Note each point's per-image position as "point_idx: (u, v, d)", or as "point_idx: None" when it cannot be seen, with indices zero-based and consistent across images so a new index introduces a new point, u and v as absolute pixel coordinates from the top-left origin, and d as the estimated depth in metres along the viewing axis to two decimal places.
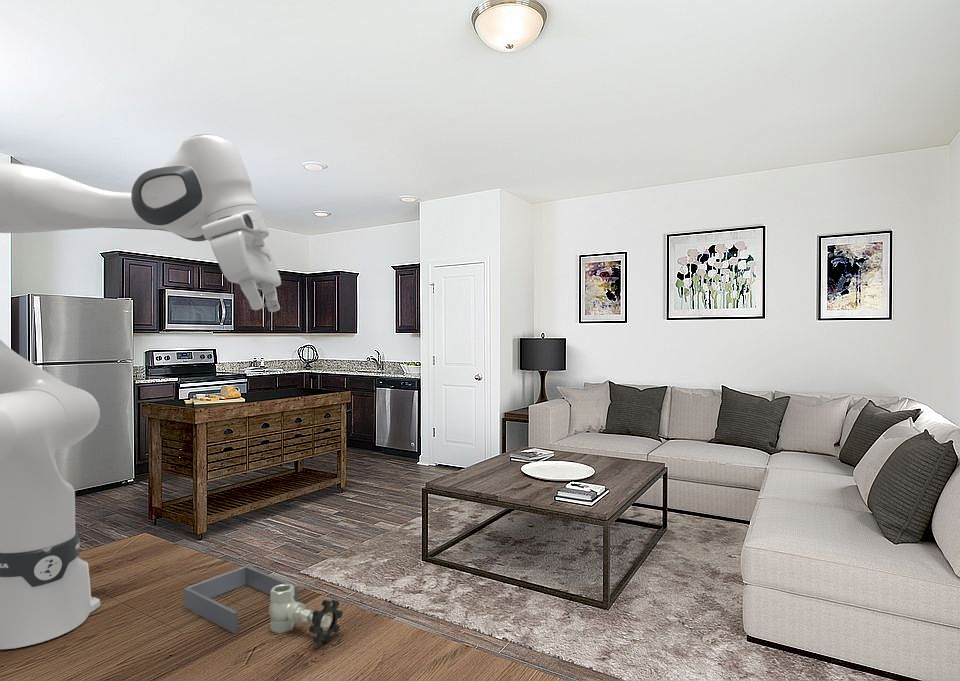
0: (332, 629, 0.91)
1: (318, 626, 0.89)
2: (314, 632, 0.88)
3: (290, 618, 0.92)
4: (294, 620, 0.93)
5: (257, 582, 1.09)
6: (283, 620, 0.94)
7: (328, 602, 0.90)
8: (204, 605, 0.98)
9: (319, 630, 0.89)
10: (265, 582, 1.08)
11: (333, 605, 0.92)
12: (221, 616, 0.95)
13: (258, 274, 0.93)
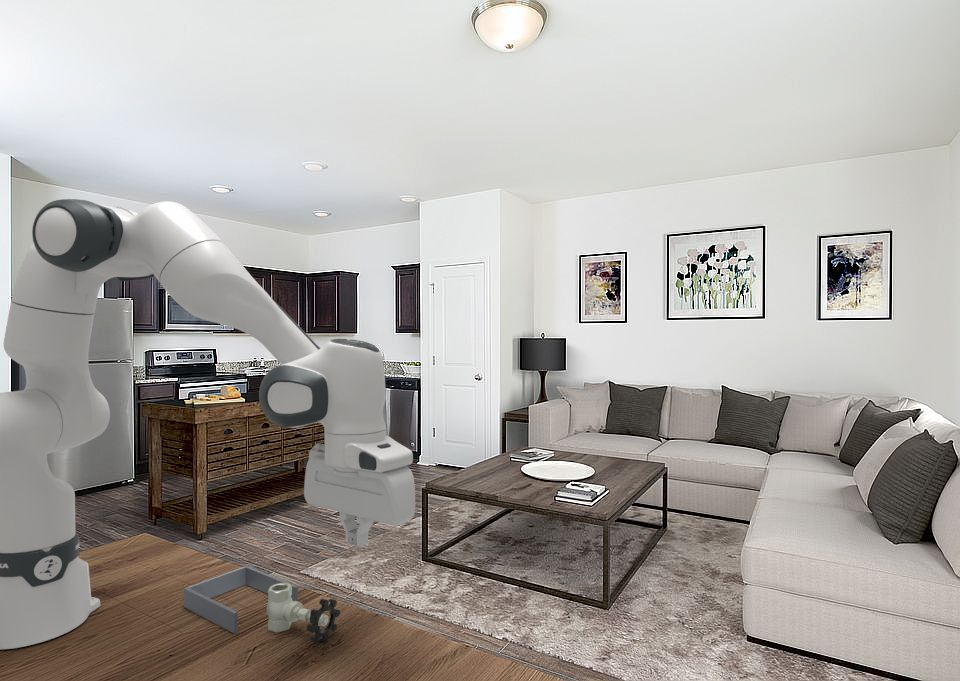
0: (330, 628, 0.92)
1: (316, 625, 0.89)
2: (312, 631, 0.88)
3: (288, 617, 0.93)
4: (291, 619, 0.93)
5: (257, 582, 1.09)
6: (281, 619, 0.94)
7: (326, 601, 0.91)
8: (204, 605, 0.98)
9: (317, 629, 0.89)
10: (265, 582, 1.08)
11: (331, 604, 0.92)
12: (221, 616, 0.95)
13: None
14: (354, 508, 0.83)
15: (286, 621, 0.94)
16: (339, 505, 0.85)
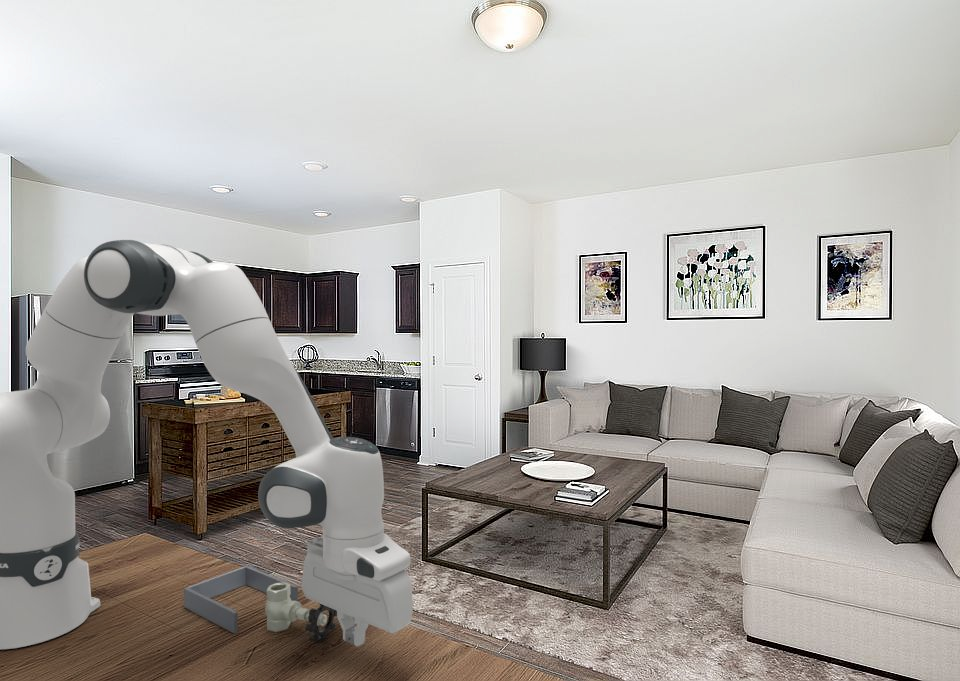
0: (328, 627, 0.92)
1: (314, 624, 0.89)
2: (310, 630, 0.88)
3: (286, 616, 0.93)
4: (290, 618, 0.93)
5: (257, 582, 1.09)
6: (279, 619, 0.94)
7: None
8: (204, 605, 0.98)
9: (315, 628, 0.89)
10: (265, 582, 1.08)
11: None
12: (221, 616, 0.95)
13: None
14: (351, 610, 0.83)
15: (285, 620, 0.95)
16: (336, 604, 0.85)
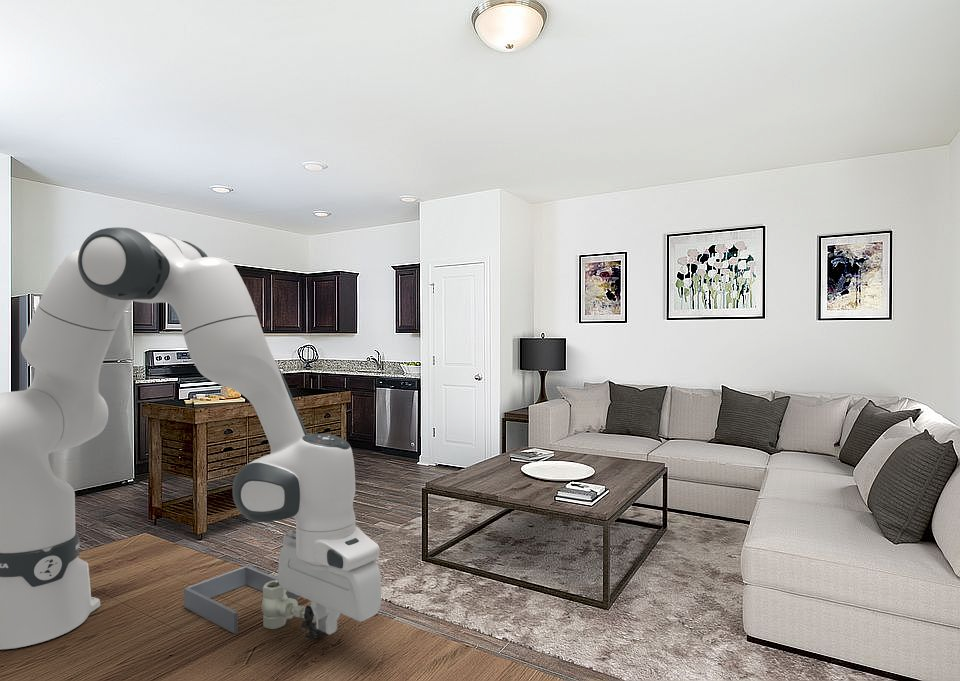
0: None
1: (310, 621, 0.90)
2: (306, 627, 0.89)
3: (282, 614, 0.93)
4: (286, 616, 0.94)
5: (257, 582, 1.09)
6: (275, 616, 0.95)
7: None
8: (204, 605, 0.98)
9: (311, 625, 0.90)
10: (265, 582, 1.08)
11: None
12: (221, 616, 0.95)
13: None
14: (323, 599, 0.87)
15: (281, 618, 0.95)
16: (309, 594, 0.89)
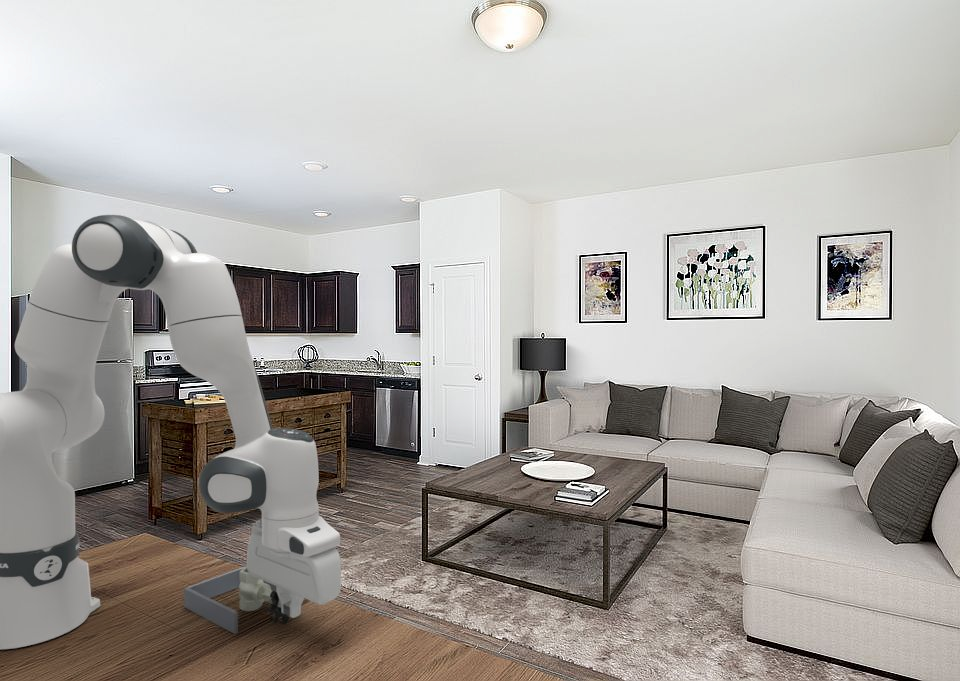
0: None
1: (275, 606, 0.95)
2: (270, 611, 0.94)
3: (254, 597, 0.99)
4: (258, 599, 0.99)
5: None
6: (250, 599, 1.01)
7: None
8: (204, 605, 0.98)
9: (276, 609, 0.95)
10: (265, 582, 1.08)
11: None
12: (221, 616, 0.95)
13: None
14: (287, 584, 0.92)
15: (255, 601, 1.01)
16: (275, 580, 0.94)
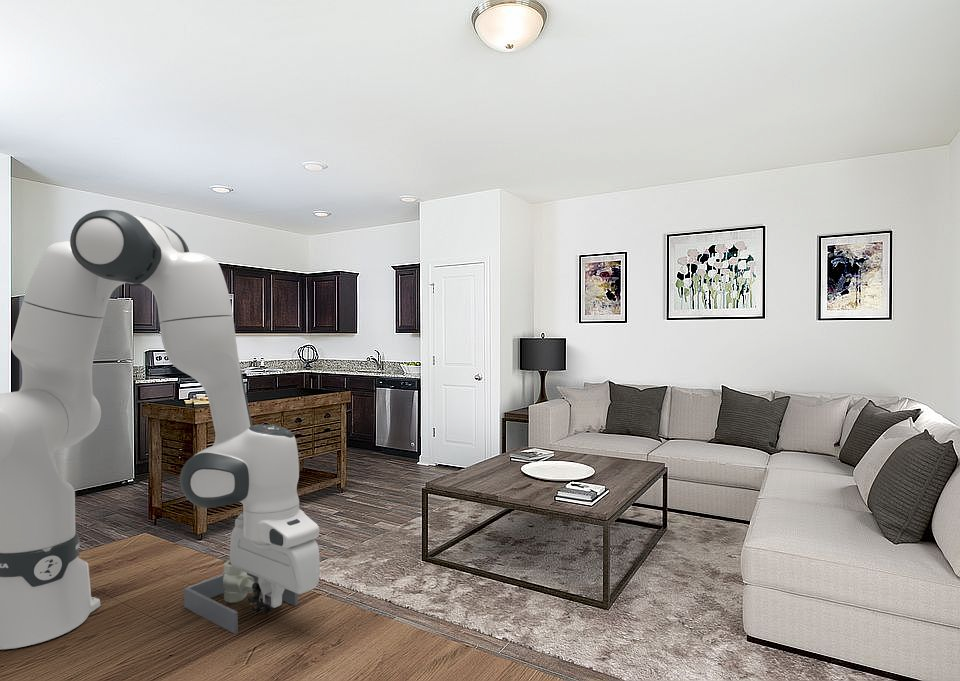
0: None
1: (256, 597, 0.98)
2: (252, 602, 0.97)
3: (238, 589, 1.02)
4: (241, 591, 1.03)
5: (257, 582, 1.09)
6: (234, 590, 1.04)
7: None
8: (204, 605, 0.98)
9: (258, 600, 0.98)
10: None
11: None
12: (221, 616, 0.95)
13: None
14: (268, 575, 0.95)
15: (239, 593, 1.04)
16: (256, 571, 0.97)
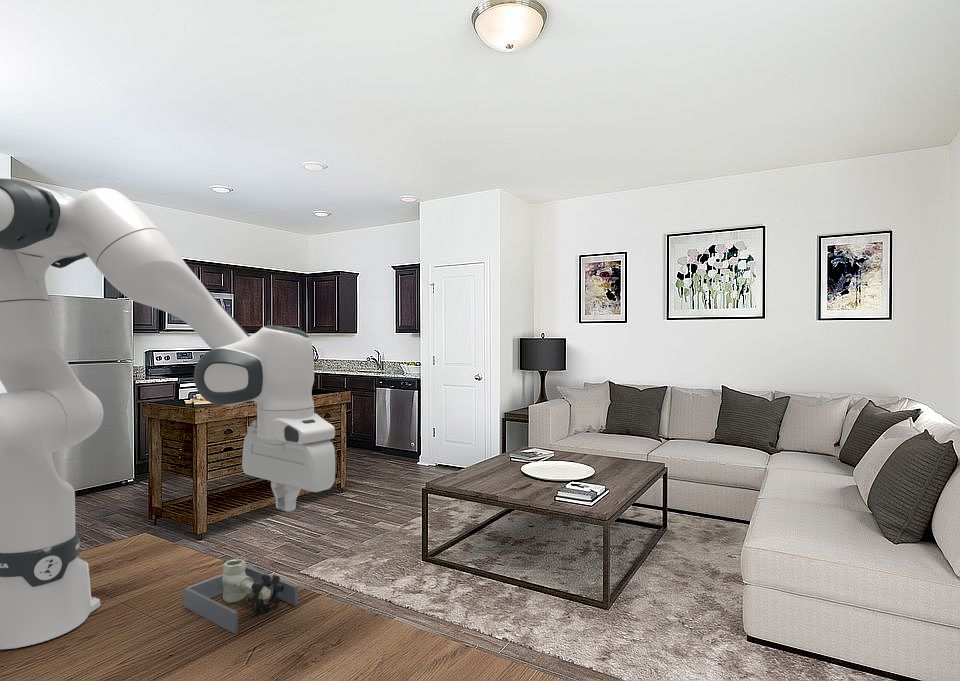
0: (272, 601, 1.01)
1: (256, 597, 0.98)
2: (251, 602, 0.98)
3: (237, 589, 1.03)
4: (240, 591, 1.03)
5: (257, 582, 1.09)
6: (233, 591, 1.04)
7: (267, 576, 1.00)
8: (204, 605, 0.98)
9: (257, 601, 0.99)
10: None
11: (273, 579, 1.01)
12: (221, 616, 0.95)
13: None
14: (282, 477, 0.93)
15: (238, 593, 1.05)
16: (270, 474, 0.95)
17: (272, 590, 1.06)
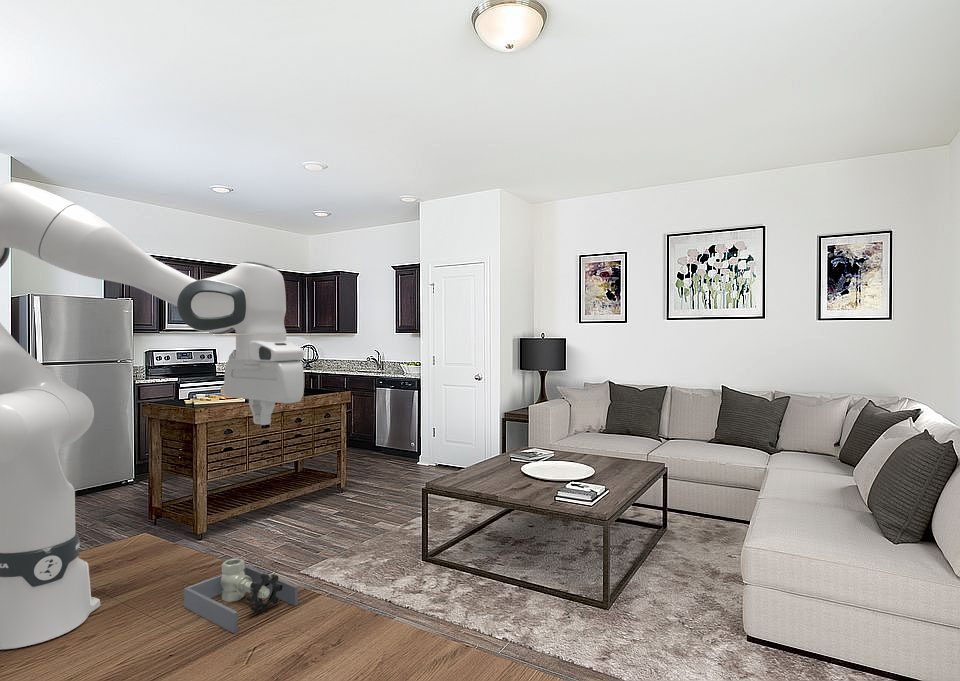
0: (271, 600, 1.01)
1: (255, 596, 0.99)
2: (250, 601, 0.98)
3: (236, 588, 1.03)
4: (239, 590, 1.03)
5: (257, 582, 1.09)
6: (232, 590, 1.04)
7: (266, 575, 1.00)
8: (204, 605, 0.98)
9: (256, 600, 0.99)
10: None
11: (272, 579, 1.02)
12: (221, 616, 0.95)
13: None
14: (258, 393, 1.06)
15: (237, 592, 1.05)
16: (247, 393, 1.08)
17: None
